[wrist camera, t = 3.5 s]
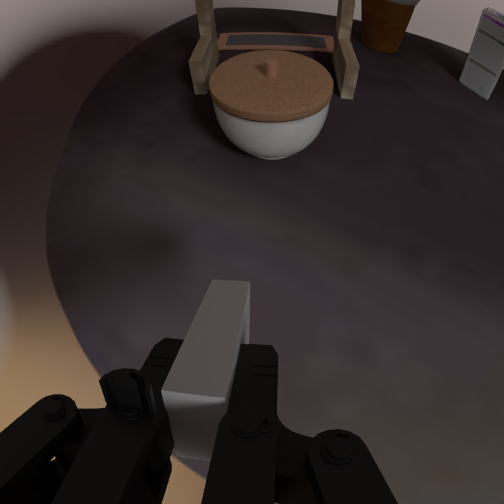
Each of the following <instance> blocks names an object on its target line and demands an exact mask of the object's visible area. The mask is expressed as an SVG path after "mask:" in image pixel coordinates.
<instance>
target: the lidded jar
mask: <svg viewBox="0 0 504 504" xmlns="http://www.w3.org/2000/svg"><path fill="white" fill-rule="evenodd" d="M333 87H334V84H333V79H332V77H331V75H330V73H329V72H328V71H327V69H326V68H325V67H324V66H323V65H321V64H320V63H318V62H317V61H315V60H313V59H311V58H309V57H306V56H304V55H301V54H297V53H293V52H288V51H281V50H260V51H253V52H247V53H244V54H240V55H237V56H235V57H232V58H230V59H228V60H226V61H225V62H223V63H222V64H220V65H219V66H218V67H217V68H216V69H215V70H214V71H213V73H212V74H211V76H210V79H209V90H210V95H211V98H212V100H213V105H214V110H215V114H216V117H217V119H218V122H219V124H220V126H221V128H222V130H223V132H224V133H225V135H226V136H227V137H228V138H229V140H230V141H231V142H232V143H233V144H234V145H236V146H237V147H238V148H240V149H241V150H243V151H245V152H247V153H249V154H251V155H253V156H255V157H258V158H261V159H266V160H277V159H283V158H286V157H289V156H291V155H292V154H295V153H297V152H299V151H301V150H303V149H304V148H306V147H307V146H308V145H309V144H310V143H312V142H313V140H314V139H315V138H316V137H317V135H318V134H319V133H320V131H321V129H322V127H323V125H324V122H325V120H326V117H327V113H328V109H329V104H330V100H331V97H332V93H333Z"/></svg>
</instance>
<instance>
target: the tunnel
mask: <svg viewBox="0 0 504 504" xmlns="http://www.w3.org/2000/svg"><path fill="white" fill-rule="evenodd" d="M195 5H196V11H197V18H198V24H199V30H200V36H201V37H200V39H199V41H198V43H197V45H196V47H195V49H194V51H193V53H192V55H191V57H190V59H189V67H190V71H191V76H192V81H193V86H194V91H195V95H199V94H207V93H208V90H209V79H210V76H211V74H212V73H213V71H214V70H215V68H216V65H217V62H218V59H219V49H218V41H217V33H216V25H215V18H214V10H213V2H212V0H195ZM354 6H355V0H339V1H338V10H337V11H338V12H337V20H336V29H335V38H334V47H333V55H332V61H333V65H334V70H335V74H336V78H337V83H338V87H339V92H340V97H341V98H344V99H353V96H354V91H355V87H356V81H357V76H358V71H359V63H358V60H357V58H356V55H355V52H354V50H353V47H352V44H351V42H350V36H351V29H352V21H353V14H354Z"/></svg>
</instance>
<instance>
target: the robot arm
mask: <svg viewBox="0 0 504 504" xmlns="http://www.w3.org/2000/svg"><path fill="white" fill-rule="evenodd" d="M249 315H250V281H230V280H212V282H211V284H210V286H209V288H208V290H207V293H206V295H205V297H204V299H203V301H202V303H201V305H200V307H199V309H198V312H197V314H196V316H195V318H194V320H193V322H192V324H191V326H190V329H189V331H188V333H187V335H186V337H185V339H184V340H181V339H172V338H164V339H163V340H161V341H160V342H159V343H157V344H156V345H154V347H153V349H152V350H151V352H150V354H149V357H147V359H146V361H145V362H144V365H143V366H142V368H141V369H140V371H139V370H135V369H127V368H122V369H117V370H113V371H111V372H109V373H107V374H105V375H104V376H103V377H102V378H101V379H100V380H99V383H100V385H101V389H102V392H103V395H104V398H105V401H106V403H107V405H106V407H105V408H98V409H78V408H77V406H76V404H75V401H73V400H72V399H71V398H70V397H68V396H65V395H62V394H53V395H50V396H46V397H44V398H42V399H41V400H39V401H38V402H37V403H35V404H34V405H33V406H32V407H31V408H29V409H28V410H27V411H26V412H24V413H23V414H22V415H21V416H20V417H18V418H17V419H16V420H15V421H14V422H13V423H11V424H10V425H9V426H8V427H7V428H5V429H4V430H3V431H2V432H1V433H0V504H162V500H163V497H164V494H165V491H166V488H167V484H168V481H169V478H170V474H171V471H172V464H171V461H170V456H171V453H172V450H173V447H174V449H175V453H176V456H179V457H185V458H191V459H198V460H205V461H211V462H210V466H209V471H208V475H207V480H206V484H205V489H204V494H203V498H202V503H201V504H274V502H276V503H279V504H398V503H397V501H396V499H395V497H394V495H393V494H392V492H391V490H390V488H389V486H388V485H387V483H386V481H385V479H384V477H383V475H382V474H381V472H380V470H379V468H378V466H377V464H376V463H375V461H374V459H373V457H372V455H371V453H370V452H369V450H368V448H367V446H366V444H365V443H364V442H363V441H362V440H361V438H360V437H359V436H357V435H355V434H353V433H352V432H349V431H345V430H340V429H336V430H327V431H324V432H321V433H319V434H317V435H316V436H315V437H314V438H312V437H308V436H304V435H301V434H298V433H295V432H292V431H291V430H289V429H288V428H286V427H285V426H284V425H283V424H282V423H281V422H280V420H279V418H278V415H277V386H278V354H277V352H276V351H275V349H274V348H273V346H272V345H257V344H248V343H249ZM54 456H55V457H56V459H54V460H52V461H50V460H51V459H52V458H53V457H54Z"/></svg>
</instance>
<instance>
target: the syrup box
mask: <svg viewBox="0 0 504 504" xmlns="http://www.w3.org/2000/svg"><path fill="white" fill-rule="evenodd" d="M503 67H504V15H503V14H501V13H500V12H498V11H496V10H493V9H491V8H490V7H488V8H487V9H484V10H483V11H482V14H481V18H480V21H479V24H478V27H477V30H476V33H475V36H474V39H473V42H472V45H471V48H470V52H469V54H468V57H467V60H466V63H465V65H464V68H463V71H462V73H461V76H460V79H459V82H461V83H462V84H463V85H465V86H466V87H468V88H469V89H471V90H472V91H474V92H475V93H477V94H478V95H480V96H481V97H483V98H484V99H486V100H487V99H488V98H489V97H490V95H491V93H492V91H493V89H494V87H495V85H496V83H497V81H498V78H499V76H500V74H501V72H502V69H503Z"/></svg>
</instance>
